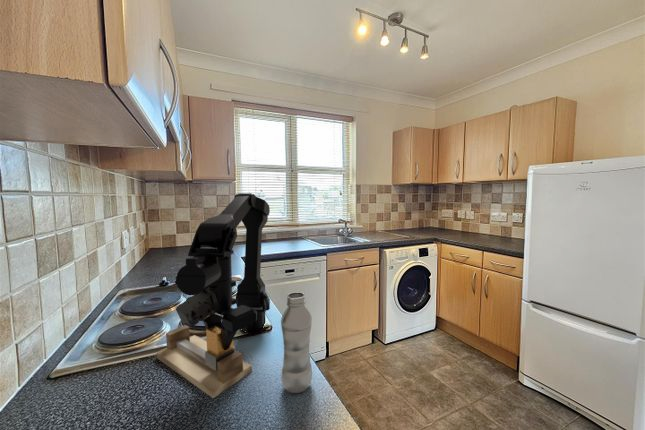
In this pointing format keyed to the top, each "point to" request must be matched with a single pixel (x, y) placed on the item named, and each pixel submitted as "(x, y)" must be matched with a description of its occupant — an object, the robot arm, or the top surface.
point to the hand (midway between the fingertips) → (220, 346)
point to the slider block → (216, 348)
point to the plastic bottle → (296, 344)
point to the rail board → (201, 362)
